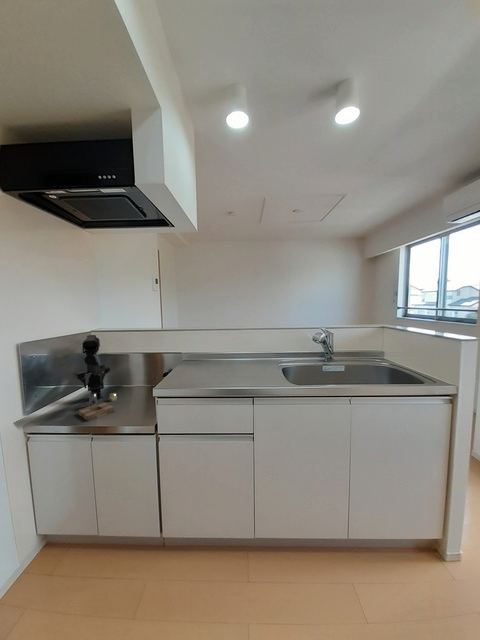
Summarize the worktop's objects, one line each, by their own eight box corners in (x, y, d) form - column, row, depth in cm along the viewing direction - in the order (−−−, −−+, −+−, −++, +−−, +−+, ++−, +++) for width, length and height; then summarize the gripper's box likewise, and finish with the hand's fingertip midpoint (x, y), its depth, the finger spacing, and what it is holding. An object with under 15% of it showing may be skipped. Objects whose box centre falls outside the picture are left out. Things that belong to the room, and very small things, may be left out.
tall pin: (88, 406, 159) (87, 394, 158) (95, 404, 162) (94, 392, 161) (91, 408, 156) (90, 395, 156) (98, 406, 160) (97, 393, 159)
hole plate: (78, 414, 149) (78, 410, 148) (103, 405, 160) (103, 401, 159) (88, 421, 140) (88, 416, 140) (114, 411, 151) (114, 407, 151)
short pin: (108, 400, 168) (108, 394, 168) (114, 398, 171) (114, 392, 171) (111, 401, 166) (111, 395, 165) (117, 399, 169) (117, 393, 168)
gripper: (80, 366, 144) (82, 393, 146) (113, 359, 159) (115, 384, 161) (72, 363, 151) (74, 389, 152) (104, 356, 166) (106, 380, 167)
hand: (93, 385), depth 158 cm, fingers open, 9 cm apart
